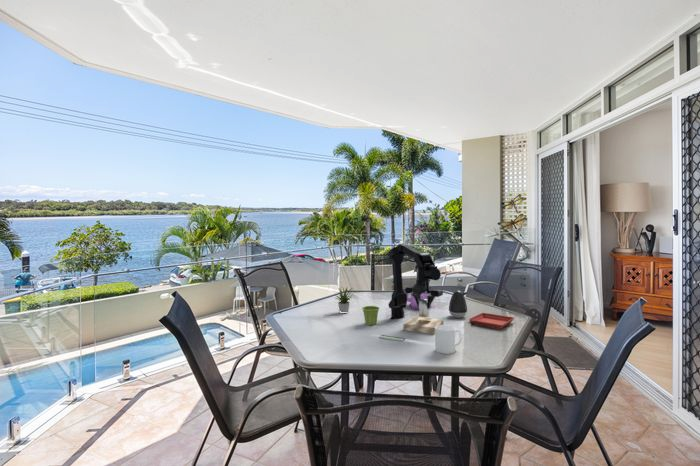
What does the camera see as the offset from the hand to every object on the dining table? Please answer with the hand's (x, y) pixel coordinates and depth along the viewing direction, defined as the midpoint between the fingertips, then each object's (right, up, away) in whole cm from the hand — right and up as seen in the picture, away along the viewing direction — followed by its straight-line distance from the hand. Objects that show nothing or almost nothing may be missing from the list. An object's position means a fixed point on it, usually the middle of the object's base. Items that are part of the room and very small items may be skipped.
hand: (423, 308), depth 191 cm
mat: (-15, -12, -9) cm, 21 cm away
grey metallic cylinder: (0, -4, 0) cm, 4 cm away
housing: (0, -11, +1) cm, 11 cm away
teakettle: (+9, -9, +51) cm, 52 cm away
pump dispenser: (+24, -10, +24) cm, 35 cm away
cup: (+5, -13, -30) cm, 33 cm away
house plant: (-40, -11, +38) cm, 56 cm away
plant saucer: (+38, -11, +9) cm, 41 cm away
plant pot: (-26, -11, +13) cm, 31 cm away
